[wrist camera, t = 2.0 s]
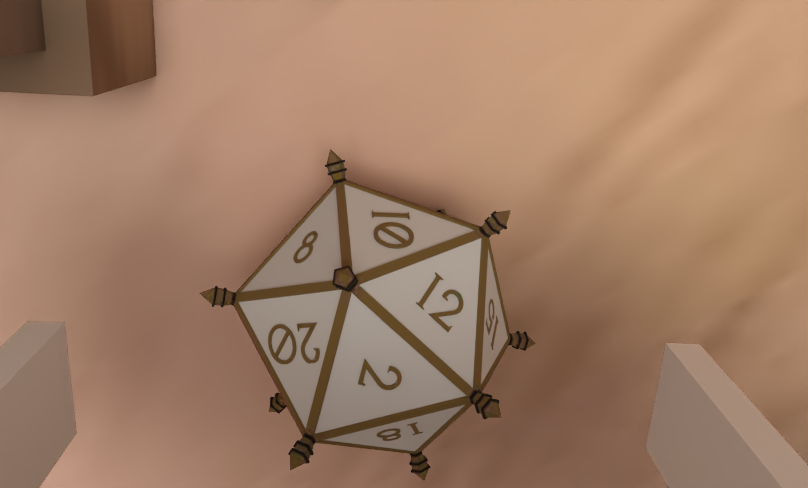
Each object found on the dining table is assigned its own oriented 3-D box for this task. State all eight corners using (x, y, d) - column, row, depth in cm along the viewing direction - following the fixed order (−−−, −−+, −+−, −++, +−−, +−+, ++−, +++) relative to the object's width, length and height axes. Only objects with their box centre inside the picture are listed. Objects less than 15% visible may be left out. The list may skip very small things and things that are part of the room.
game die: (362, 283, 28) (217, 509, 22) (290, 94, 23) (74, 322, 17) (589, 318, 24) (491, 607, 18) (565, 98, 19) (414, 401, 13)
